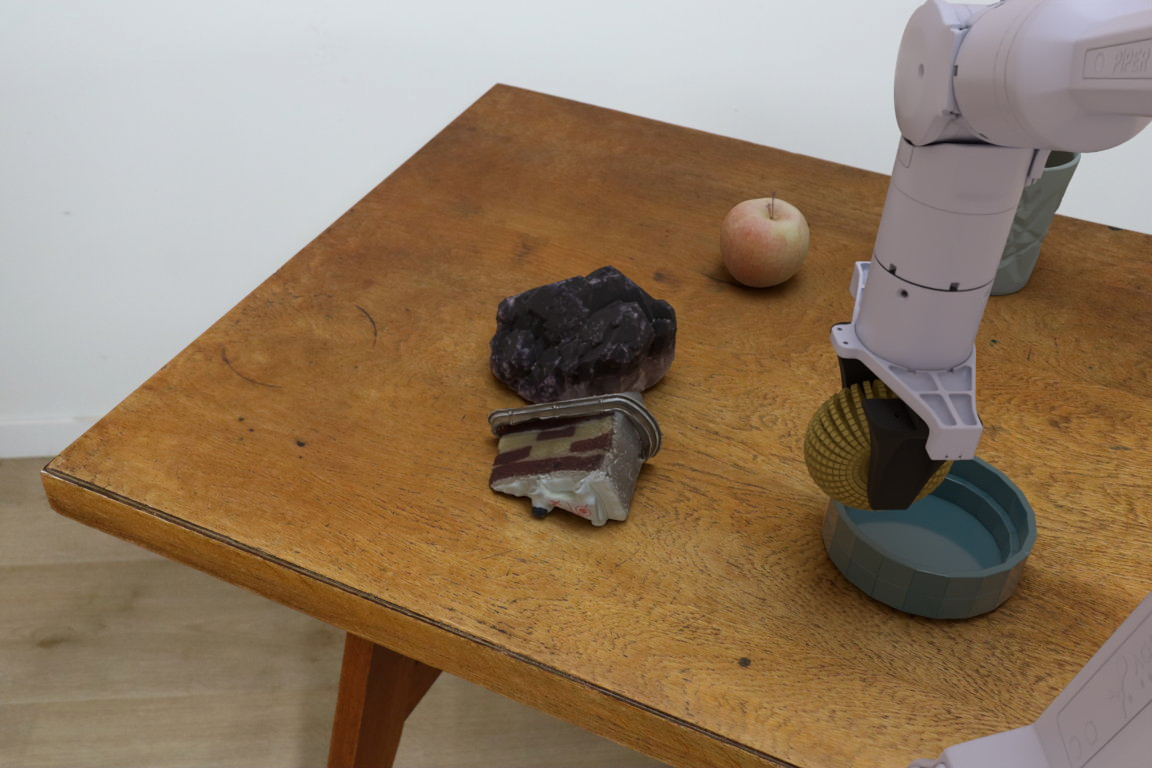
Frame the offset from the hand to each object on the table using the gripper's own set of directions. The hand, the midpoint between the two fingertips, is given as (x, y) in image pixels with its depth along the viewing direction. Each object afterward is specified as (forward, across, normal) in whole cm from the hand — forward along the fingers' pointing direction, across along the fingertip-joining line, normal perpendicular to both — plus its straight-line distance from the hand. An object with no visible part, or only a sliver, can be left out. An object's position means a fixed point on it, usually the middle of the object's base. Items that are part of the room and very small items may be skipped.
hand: (874, 473), depth 61 cm
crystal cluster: (+9, -22, -14) cm, 28 cm away
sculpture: (+2, 0, 0) cm, 2 cm away
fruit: (+9, -35, +2) cm, 36 cm away
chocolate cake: (+9, -9, -16) cm, 21 cm away
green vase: (+9, -37, +22) cm, 44 cm away
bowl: (+9, -3, +6) cm, 11 cm away
